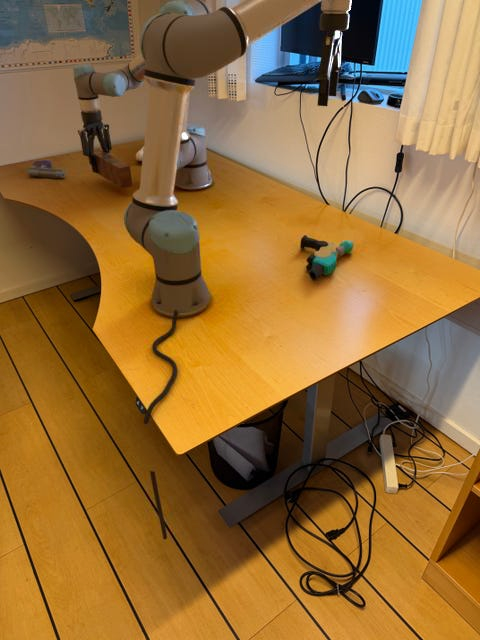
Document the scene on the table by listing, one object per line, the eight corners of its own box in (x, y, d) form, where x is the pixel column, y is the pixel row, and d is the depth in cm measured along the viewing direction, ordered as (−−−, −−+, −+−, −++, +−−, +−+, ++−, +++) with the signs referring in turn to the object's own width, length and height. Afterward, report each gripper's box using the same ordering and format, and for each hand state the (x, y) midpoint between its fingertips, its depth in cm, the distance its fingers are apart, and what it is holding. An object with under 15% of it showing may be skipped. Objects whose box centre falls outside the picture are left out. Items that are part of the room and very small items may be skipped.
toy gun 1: (79, 169, 213) (62, 180, 201) (41, 166, 216) (22, 178, 205) (77, 160, 211) (60, 171, 199) (39, 158, 214) (20, 169, 202)
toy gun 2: (277, 262, 133) (328, 274, 127) (310, 227, 151) (356, 237, 146) (276, 276, 135) (326, 289, 130) (309, 240, 154) (354, 250, 148)
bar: (132, 185, 185) (130, 165, 180) (122, 188, 183) (119, 168, 178) (102, 168, 199) (99, 148, 194) (92, 170, 197) (89, 151, 192)
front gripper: (329, 9, 134) (322, 91, 146) (310, 15, 115) (304, 109, 127) (356, 9, 132) (347, 92, 144) (341, 15, 113) (332, 111, 125)
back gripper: (103, 104, 190) (112, 162, 203) (64, 113, 178) (77, 174, 192) (115, 107, 186) (124, 166, 200) (76, 116, 174) (88, 178, 188)
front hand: (327, 100), depth 136 cm, fingers open, 13 cm apart
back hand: (101, 170), depth 196 cm, fingers closed on bar, 5 cm apart
